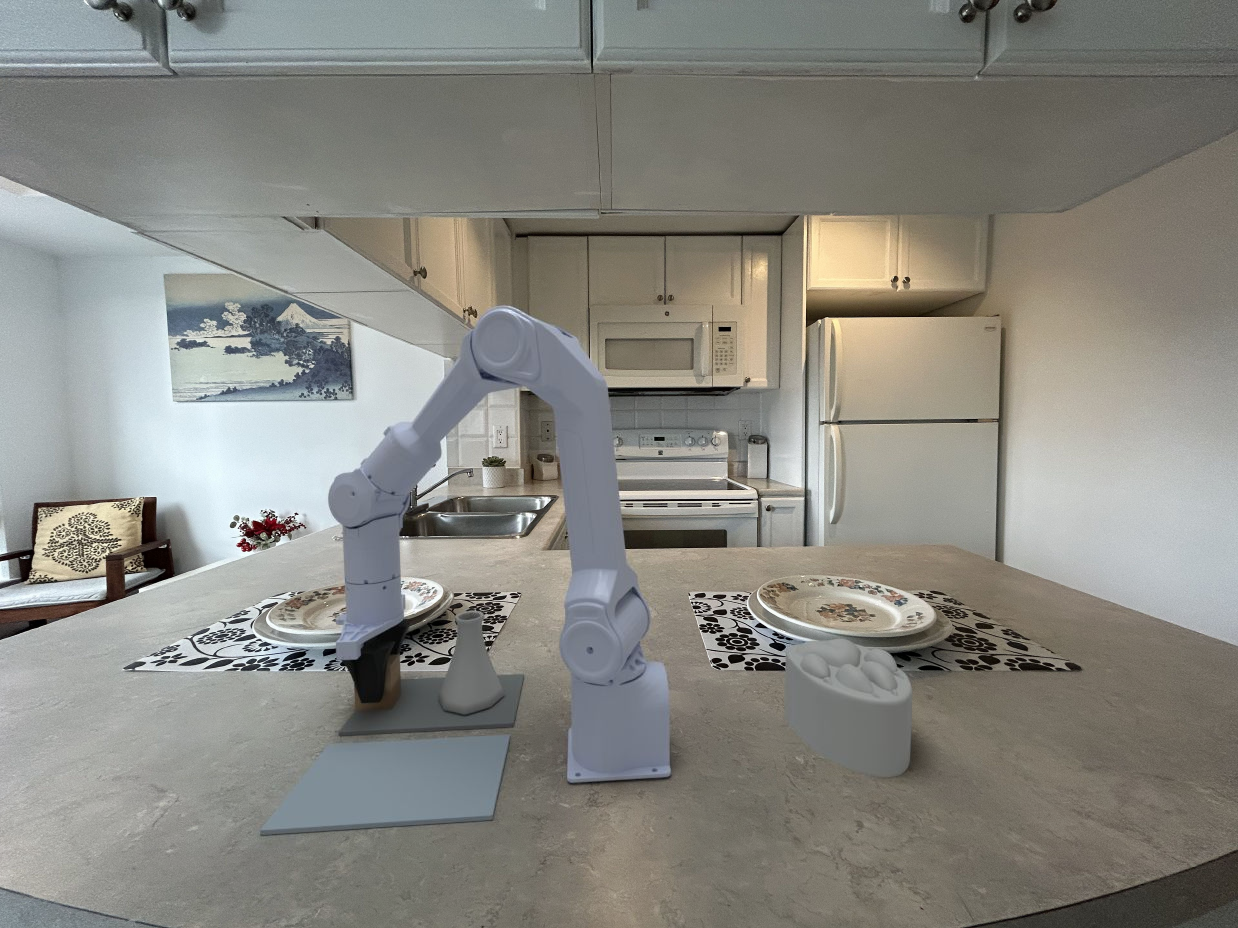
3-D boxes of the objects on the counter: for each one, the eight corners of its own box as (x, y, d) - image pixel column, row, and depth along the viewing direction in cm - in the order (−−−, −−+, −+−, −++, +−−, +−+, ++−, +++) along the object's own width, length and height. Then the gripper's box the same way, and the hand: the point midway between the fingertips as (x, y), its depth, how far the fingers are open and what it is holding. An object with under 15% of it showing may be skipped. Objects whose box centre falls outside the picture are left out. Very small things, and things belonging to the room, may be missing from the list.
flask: (479, 677, 64) (477, 600, 64) (515, 696, 60) (514, 613, 59) (426, 700, 59) (423, 616, 58) (462, 723, 54) (460, 632, 54)
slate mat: (510, 738, 52) (510, 734, 52) (492, 819, 41) (492, 815, 41) (328, 747, 51) (328, 743, 51) (260, 834, 40) (260, 830, 40)
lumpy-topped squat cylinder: (855, 698, 60) (857, 626, 59) (941, 770, 47) (945, 681, 47) (773, 706, 58) (774, 632, 58) (839, 783, 46) (842, 690, 45)
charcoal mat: (524, 676, 65) (523, 636, 65) (513, 726, 54) (512, 678, 54) (379, 683, 64) (377, 641, 63) (338, 735, 53) (336, 685, 53)
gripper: (363, 561, 64) (367, 664, 65) (301, 599, 50) (308, 731, 51) (420, 559, 65) (424, 662, 66) (375, 597, 51) (381, 728, 51)
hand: (377, 692), depth 58 cm, fingers closed on charcoal mat, 3 cm apart
